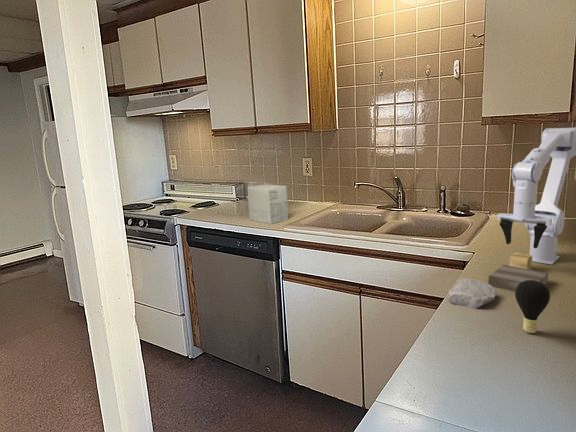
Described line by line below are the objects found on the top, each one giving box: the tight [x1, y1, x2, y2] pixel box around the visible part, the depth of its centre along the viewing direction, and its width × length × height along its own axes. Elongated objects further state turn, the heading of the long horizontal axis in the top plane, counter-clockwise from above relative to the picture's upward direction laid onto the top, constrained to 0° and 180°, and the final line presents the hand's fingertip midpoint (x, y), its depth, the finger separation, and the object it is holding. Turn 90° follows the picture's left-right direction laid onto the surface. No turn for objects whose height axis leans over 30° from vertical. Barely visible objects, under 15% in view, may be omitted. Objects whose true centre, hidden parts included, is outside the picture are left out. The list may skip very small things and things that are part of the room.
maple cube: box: [508, 252, 533, 270], centre depth 131 cm, size 5×5×5 cm
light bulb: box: [514, 280, 551, 334], centre depth 93 cm, size 7×7×12 cm
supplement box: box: [247, 183, 289, 225], centre depth 220 cm, size 17×13×18 cm
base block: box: [487, 264, 549, 292], centre depth 120 cm, size 12×12×3 cm
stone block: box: [448, 278, 496, 309], centre depth 112 cm, size 12×5×10 cm
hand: (521, 245), depth 129 cm, fingers open, 7 cm apart
